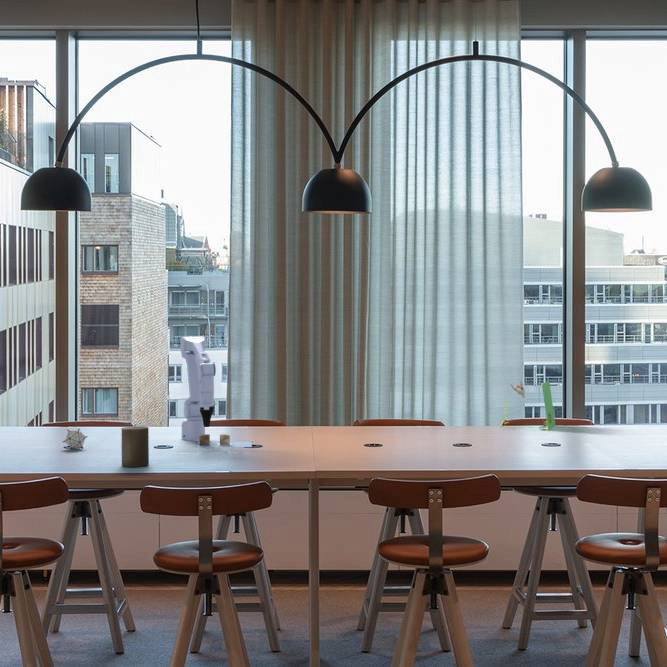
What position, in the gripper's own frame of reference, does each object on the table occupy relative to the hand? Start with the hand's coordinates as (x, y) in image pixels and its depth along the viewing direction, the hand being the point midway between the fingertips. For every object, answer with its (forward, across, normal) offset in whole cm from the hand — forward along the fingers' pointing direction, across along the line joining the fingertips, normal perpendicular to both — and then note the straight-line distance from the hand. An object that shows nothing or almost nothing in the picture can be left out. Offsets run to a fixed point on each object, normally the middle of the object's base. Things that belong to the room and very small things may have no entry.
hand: (206, 425), depth 432 cm
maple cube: (+8, 0, -7) cm, 11 cm away
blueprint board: (+8, 0, -7) cm, 11 cm away
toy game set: (+9, +50, -147) cm, 156 cm away
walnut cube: (+8, 0, +1) cm, 8 cm away
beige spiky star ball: (+9, -3, +52) cm, 53 cm away
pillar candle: (+8, -46, +25) cm, 53 cm away
